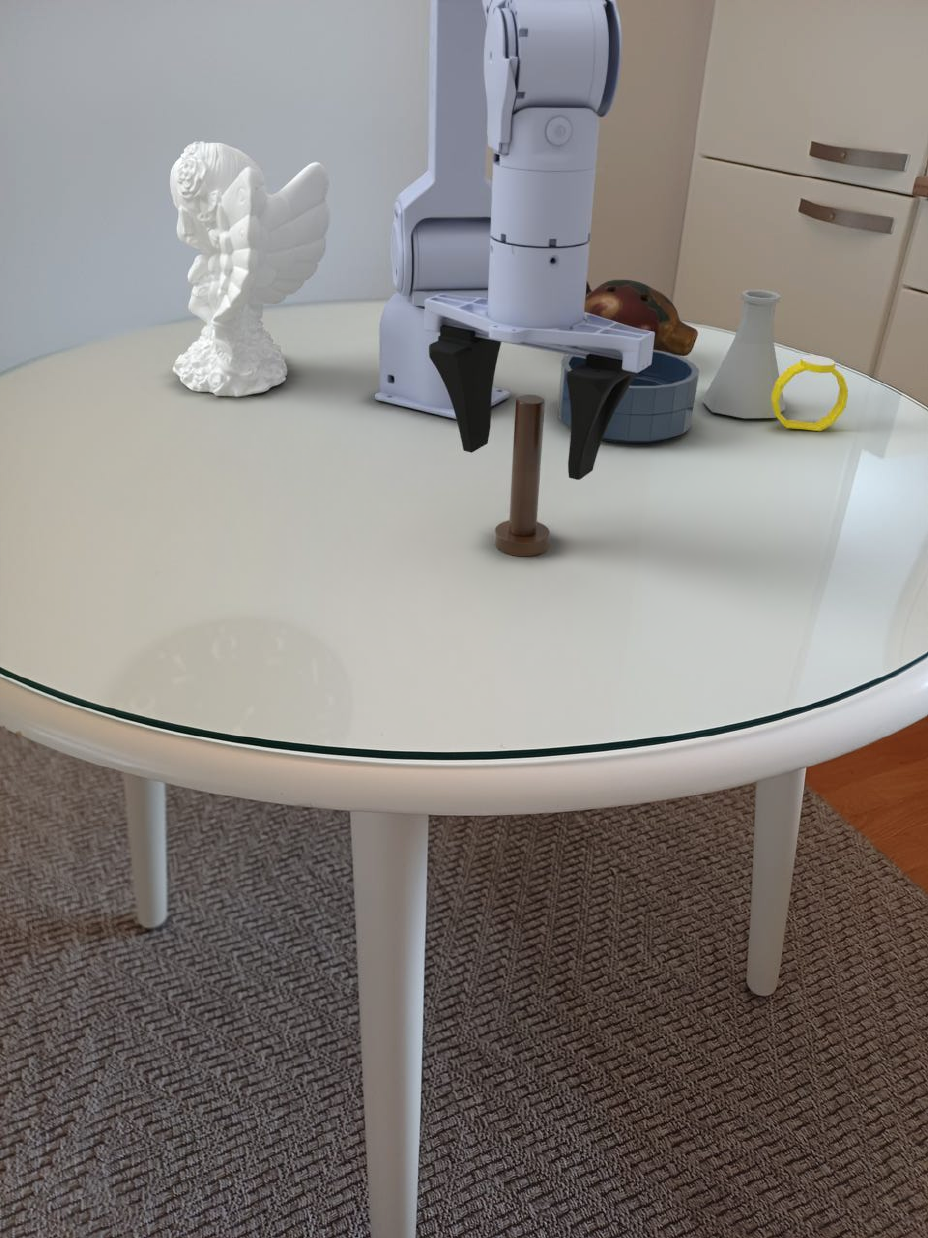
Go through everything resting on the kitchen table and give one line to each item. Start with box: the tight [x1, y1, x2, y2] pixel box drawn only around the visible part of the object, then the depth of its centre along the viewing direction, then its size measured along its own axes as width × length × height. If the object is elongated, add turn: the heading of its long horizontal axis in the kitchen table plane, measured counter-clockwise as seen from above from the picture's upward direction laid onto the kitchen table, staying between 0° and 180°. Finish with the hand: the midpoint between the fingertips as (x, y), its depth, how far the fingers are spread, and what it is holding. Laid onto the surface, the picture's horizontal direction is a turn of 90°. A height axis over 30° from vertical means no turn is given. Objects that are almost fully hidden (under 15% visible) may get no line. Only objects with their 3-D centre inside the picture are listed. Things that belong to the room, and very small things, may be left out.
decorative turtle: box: [584, 279, 699, 357], centre depth 106 cm, size 10×15×8 cm, turn 70°
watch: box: [771, 354, 849, 432], centre depth 91 cm, size 6×3×6 cm, turn 89°
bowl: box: [557, 350, 700, 444], centre depth 91 cm, size 11×11×5 cm
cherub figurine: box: [169, 140, 331, 398], centre depth 96 cm, size 13×12×20 cm
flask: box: [701, 289, 786, 419], centre depth 94 cm, size 7×7×10 cm
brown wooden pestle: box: [494, 394, 551, 557], centre depth 70 cm, size 4×4×10 cm
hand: (526, 460), depth 69 cm, fingers open, 7 cm apart
